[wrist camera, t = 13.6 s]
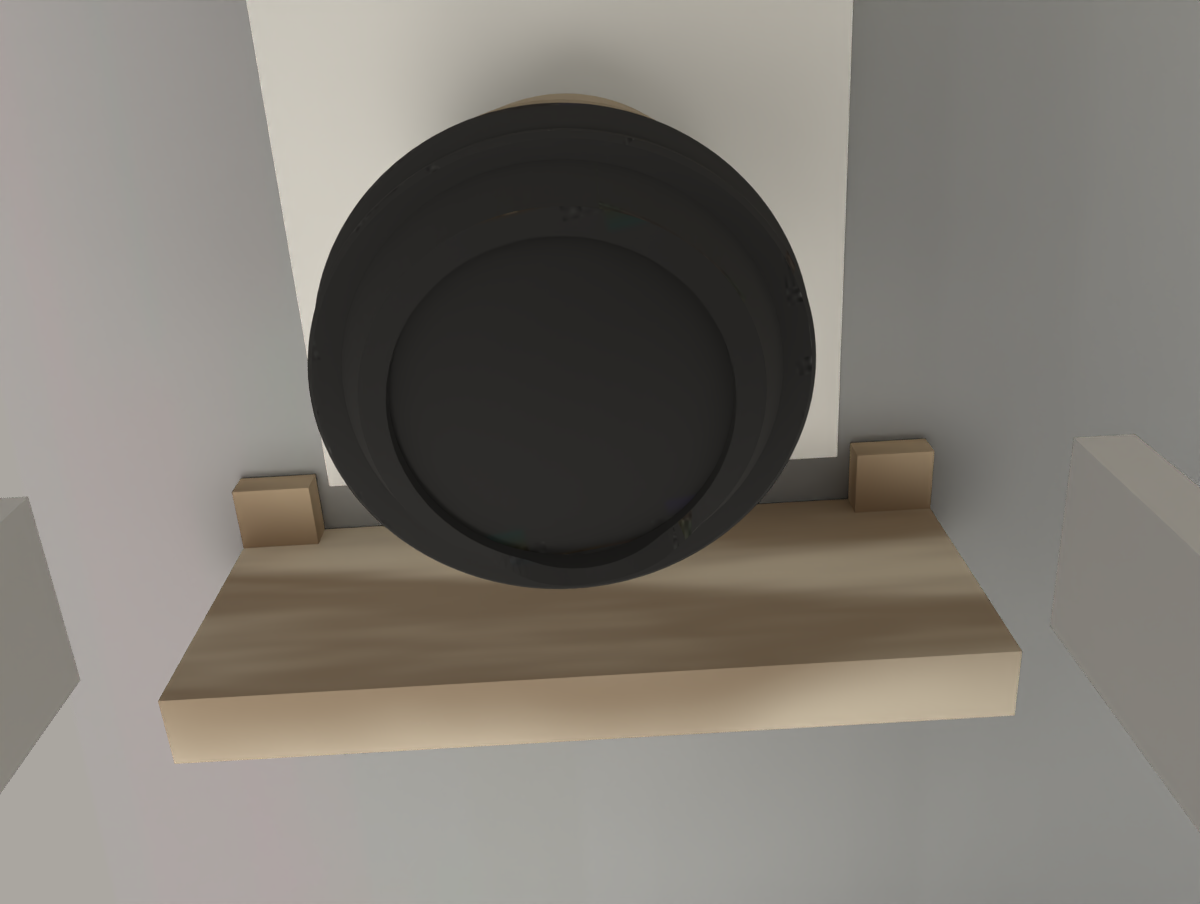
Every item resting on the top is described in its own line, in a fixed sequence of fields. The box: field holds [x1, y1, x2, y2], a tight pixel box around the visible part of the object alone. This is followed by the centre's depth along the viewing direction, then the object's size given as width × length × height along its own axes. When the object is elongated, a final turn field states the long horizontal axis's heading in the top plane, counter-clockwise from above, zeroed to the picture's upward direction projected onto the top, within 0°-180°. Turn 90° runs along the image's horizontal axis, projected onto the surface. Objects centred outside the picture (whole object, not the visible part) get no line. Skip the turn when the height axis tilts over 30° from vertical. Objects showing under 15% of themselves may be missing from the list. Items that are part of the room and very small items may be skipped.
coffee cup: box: [308, 93, 816, 589], centre depth 25 cm, size 9×9×15 cm
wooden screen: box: [158, 439, 1022, 764], centre depth 33 cm, size 6×22×9 cm, turn 93°
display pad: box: [246, 0, 853, 486], centre depth 32 cm, size 16×16×1 cm
